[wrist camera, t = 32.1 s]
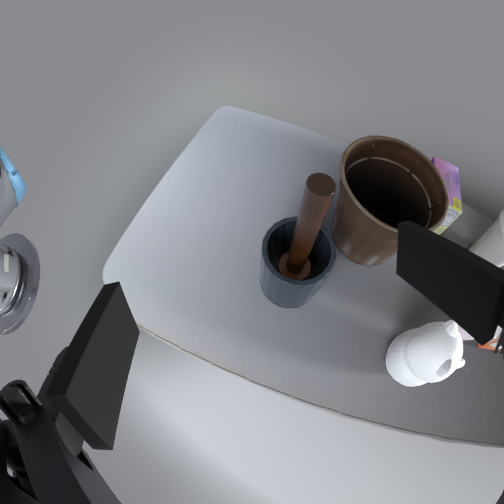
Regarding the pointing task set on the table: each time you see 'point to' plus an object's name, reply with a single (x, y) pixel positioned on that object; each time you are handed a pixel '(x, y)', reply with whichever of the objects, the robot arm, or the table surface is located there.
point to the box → (449, 191)
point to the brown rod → (307, 226)
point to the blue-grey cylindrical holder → (285, 288)
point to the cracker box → (491, 344)
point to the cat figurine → (425, 354)
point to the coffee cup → (491, 243)
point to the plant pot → (384, 197)
